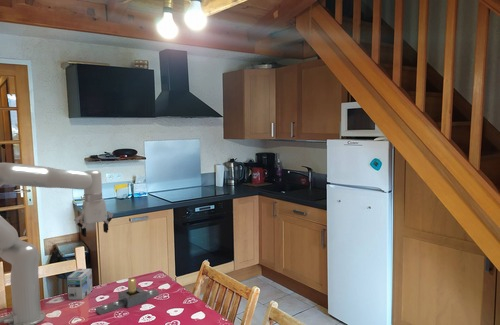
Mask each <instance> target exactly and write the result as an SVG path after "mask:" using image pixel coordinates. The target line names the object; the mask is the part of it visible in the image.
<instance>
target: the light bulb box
mask: <svg viewBox="0 0 500 325" xmlns="http://www.w3.org/2000/svg"><path fill="white" fill-rule="evenodd" d="M66 279H67V293H68V294H67V295H68V300H74V301H77V300H79V301H80V300H81V301H82V300H84V299H85V298H86V297H87V296H88V295H89V294H91V293H92V292H93V291H92V290H93V272H92V268H78V269H76V270H74V271H73V272H72V273H70V274H69V275H67V278H66ZM91 291H92V292H91Z"/></svg>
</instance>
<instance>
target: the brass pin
mask: <svg viewBox="0 0 500 325" xmlns="http://www.w3.org/2000/svg"><path fill="white" fill-rule="evenodd" d="M127 282H128V283H127V284H128V287H127V288H128V289H127V290H129V295H130V296H131V295H134V294H136V287H137V279H136V278H135V277H130V278H128V279H127Z"/></svg>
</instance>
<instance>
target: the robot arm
mask: <svg viewBox="0 0 500 325" xmlns="http://www.w3.org/2000/svg"><path fill="white" fill-rule="evenodd" d="M102 183H103V182H102V173H101V171H100V170H99V169H92V170H85V171H79V170H78V171H77V170H70V169H68V170H67V169H60V168H56V167H50V166H48V167H47V166H41V165H33V164H32V165H31V164H22V163H15V162H14V163H13V162H0V188H2V186H4V185H6V186H19V187H32V188H33V187H34V188H45V189H46V188H47V189H53V188H55V189H68V190H69V189H73V190H83V191H84V192H83V195H82V196H80V198H81V200H83V201H82V207H81V214H80V215H78V216H77V217H75V218H74V220H73V221H74V222H75V224H76V225H77V226H78V227H79V228H80V233H81V234H80V235H82V237H83V238H86V237H87V228H86V226H87V225H90V224H95V223H101V222H103V225H102V226H103V232H104V233H106V234H107V233H108V232H109V224H110V223H111V220H112V218H113V216H114V212H113V213H112V212H109V211H107V206H106V201H105V200H106V199H104V198H103V184H102ZM80 220H81V221H82V222H80ZM0 258H1V260H3V261H4V262H7V263H9V264H10V265H11V270H10V292H11V308H12V310H10V313H8V314H7V315H6V316H2V317H0V324H2V323H3V324H7V323H8V325H38V324H39V323H41V322H42V321H43V320H45V318H46V313H45V312H44V311H43V310H41V307H42V306H41V295H40V294H41V293H40V291H41V290H40V279H39V278H40V277H39V264H40V251H39V249H38V248H37V246H35V245H34V244H33V243H30V242H29V241H25V240H22V239H21V238H20V237H19V234H18V231H17V229H16V228H15V227H14V226H13V225H11V223H9V222H8V221H7V220H6V219H5V218H4V217H3V216H1V214H0Z"/></svg>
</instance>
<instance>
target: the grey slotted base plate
mask: <svg viewBox="0 0 500 325" xmlns="http://www.w3.org/2000/svg"><path fill="white" fill-rule="evenodd" d="M159 293H160V292H159V291H158V290H157V289H155V288H153V289H148V290H143V289H142V288H140V287H139V286H136V294H134V295H131V296H130V295H129V290H128V289H125V290H123V291H120V292H118V300H114V301H112V302H109V303H107V304H102V305H100V306H97V307H95V312H96V313H97V314H98V315H99V316H101V315H105V314H107V313H109V312H112V311H116V310H119V309H121V308H125V307H126V309H130V308H132V307H135V306H137V305H141V304H143V303H147V302H148V299H152V298H154V297H157V296H159V295H160V294H159Z"/></svg>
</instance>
